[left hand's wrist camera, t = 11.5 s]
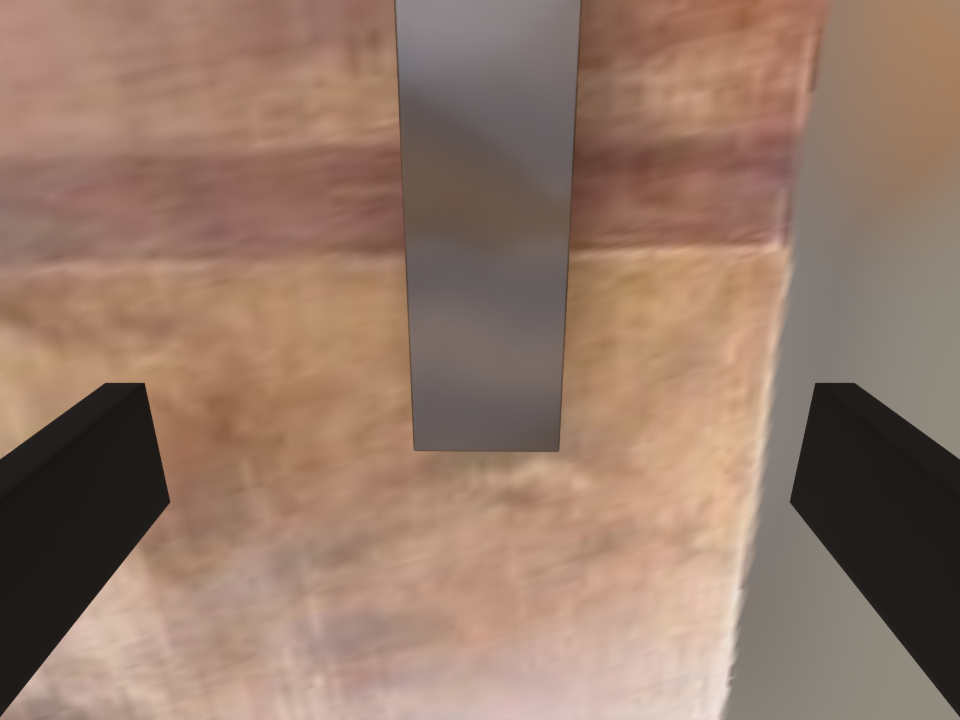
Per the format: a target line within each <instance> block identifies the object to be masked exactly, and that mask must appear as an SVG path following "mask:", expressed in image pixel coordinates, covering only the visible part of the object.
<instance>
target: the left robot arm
mask: <svg viewBox="0 0 960 720" xmlns="http://www.w3.org/2000/svg"><path fill="white" fill-rule="evenodd" d="M169 503H170V499H169V494H168V490H167V485H166V480H165V476H164V471H163V466H162V462H161V457H160V452H159V448H158V443H157V438H156V434H155V429H154V424H153V420H152V415H151V411H150V406H149V401H148V397H147V392H146V387H145V383H105V384H103V385H102V386H101V387H99V388H98V389H96V390H95V391H94V392H92V393H91V394H90V395H88V396H87V397H85V398H84V399H83V400H81V401H80V402H79V403H77V404H76V405H74V406H73V407H72V408H70V409H69V410H68V411H66V412H65V413H63V414H62V415H61V416H59V417H58V418H57V419H55V420H54V421H52V422H51V423H50V424H48V425H47V426H46V427H44V428H43V429H41V430H40V431H39V432H37V433H36V434H35V435H33V436H32V437H30V438H29V439H28V440H26V441H25V442H24V443H22V444H21V445H19V446H18V447H17V448H15V449H14V450H13V451H11V452H10V453H8V454H7V455H6V456H4V457H3V458H2V459H0V717H1V715H2V714H3V713H4V712H5V710H6V709H7V708H8V707H9V705H10V704H11V703H12V702H13V700H14V699H15V698H16V696H17V695H18V694H19V693H20V691H21V690H22V689H23V688H24V686H25V685H26V684H27V683H28V681H29V680H30V679H31V677H32V676H33V675H34V674H35V672H36V671H37V670H38V669H39V667H40V666H41V665H42V664H43V662H44V661H45V660H46V659H47V657H48V656H49V655H50V653H51V652H52V651H53V650H54V648H55V647H56V646H57V645H58V643H59V642H60V641H61V640H62V638H63V637H64V636H65V635H66V633H67V632H68V631H69V629H70V628H71V627H72V626H73V624H74V623H75V622H76V621H77V619H78V618H79V617H80V616H81V614H82V613H83V612H84V611H85V609H86V608H87V607H88V605H89V604H90V603H91V602H92V600H93V599H94V598H95V597H96V595H97V594H98V593H99V592H100V590H101V589H102V588H103V586H104V585H105V584H106V583H107V581H108V580H109V579H110V578H111V576H112V575H113V574H114V573H115V571H116V570H117V569H118V568H119V566H120V565H121V564H122V562H123V561H124V560H125V559H126V557H127V556H128V555H129V554H130V552H131V551H132V550H133V549H134V547H135V546H136V545H137V544H138V542H139V541H140V540H141V538H142V537H143V536H144V535H145V533H146V532H147V531H148V530H149V528H150V527H151V526H152V525H153V523H154V522H155V521H156V520H157V518H158V517H159V516H160V514H161V513H162V512H163V511H164V509H165V508H166V507H167V506H168V504H169ZM790 503H791V504H792V506H793V507H794V508H795V509H796V511H797V512H798V513H799V514H800V516H801V517H802V518H803V519H804V521H805V522H806V523H807V525H808V526H809V527H810V528H811V530H812V531H813V532H814V533H815V535H816V536H817V537H818V538H819V540H820V541H821V542H822V543H823V545H824V546H825V547H826V549H827V550H828V551H829V552H830V554H831V555H832V556H833V557H834V559H835V560H836V561H837V562H838V564H839V565H840V566H841V567H842V569H843V570H844V571H845V573H846V574H847V575H848V576H849V578H850V579H851V580H852V581H853V583H854V584H855V585H856V586H857V588H858V589H859V590H860V592H861V593H862V594H863V595H864V597H865V598H866V599H867V600H868V602H869V603H870V604H871V605H872V607H873V608H874V609H875V610H876V612H877V613H878V614H879V616H880V617H881V618H882V619H883V621H884V622H885V623H886V624H887V626H888V627H889V628H890V629H891V631H892V632H893V633H894V634H895V636H896V637H897V638H898V640H899V641H900V642H901V643H902V645H903V646H904V647H905V648H906V650H907V651H908V652H909V653H910V655H911V656H912V657H913V658H914V660H915V661H916V662H917V664H918V665H919V666H920V667H921V669H922V670H923V671H924V672H925V674H926V675H927V676H928V677H929V679H930V680H931V681H932V682H933V684H934V685H935V686H936V688H937V689H938V690H939V691H940V693H941V694H942V695H943V696H944V698H945V699H946V700H947V702H948V703H949V704H950V705H951V707H952V708H953V709H954V710H955V712H956V713H957V714H958V715H959V717H960V459H958V458H957V457H956V456H954V455H953V454H951V453H950V452H949V451H947V450H946V449H945V448H943V447H942V446H941V445H939V444H938V443H936V442H935V441H934V440H932V439H931V438H930V437H928V436H927V435H925V434H924V433H923V432H921V431H920V430H918V429H917V428H916V427H914V426H913V425H912V424H910V423H909V422H908V421H906V420H905V419H903V418H902V417H901V416H899V415H898V414H897V413H895V412H894V411H892V410H891V409H890V408H888V407H887V406H885V405H884V404H883V403H881V402H880V401H879V400H877V399H876V398H875V397H873V396H872V395H870V394H869V393H868V392H866V391H865V390H864V389H862V388H861V387H859V386H858V385H857V384H855V383H815V387H814V392H813V397H812V401H811V406H810V411H809V415H808V420H807V425H806V429H805V434H804V438H803V443H802V448H801V452H800V457H799V462H798V466H797V471H796V476H795V480H794V485H793V490H792V494H791V499H790Z"/></svg>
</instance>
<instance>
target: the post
mask: <svg viewBox="0 0 960 720" xmlns="http://www.w3.org/2000/svg"><path fill="white" fill-rule="evenodd" d="M394 7H395V30H396V53H397V76H398V99H399V122H400V145H401V168H402V191H403V214H404V237H405V260H406V283H407V306H408V329H409V352H410V375H411V398H412V421H413V444H414V451H499V452H559V445H560V426H561V406H562V386H563V366H564V347H565V327H566V307H567V287H568V268H569V248H570V228H571V208H572V189H573V169H574V149H575V130H576V110H577V90H578V70H579V51H580V31H581V11H582V0H394Z"/></svg>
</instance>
